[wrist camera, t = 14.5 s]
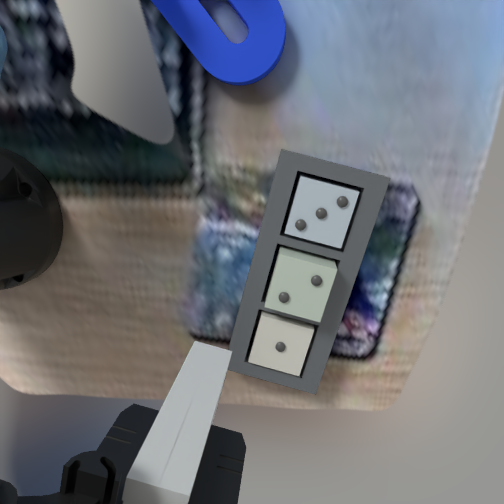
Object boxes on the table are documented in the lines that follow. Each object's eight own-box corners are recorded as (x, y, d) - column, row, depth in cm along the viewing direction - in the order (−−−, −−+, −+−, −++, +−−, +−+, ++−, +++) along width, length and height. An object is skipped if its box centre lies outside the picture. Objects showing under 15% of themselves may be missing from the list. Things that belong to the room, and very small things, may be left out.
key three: (285, 226, 40) (284, 233, 37) (300, 173, 39) (300, 176, 36) (337, 240, 40) (341, 249, 37) (353, 187, 39) (359, 192, 35)
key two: (266, 294, 41) (264, 308, 37) (280, 244, 39) (279, 254, 36) (317, 308, 41) (320, 323, 37) (333, 259, 39) (337, 270, 36)
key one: (251, 346, 44) (247, 363, 41) (263, 302, 43) (261, 316, 39) (298, 359, 44) (299, 377, 41) (312, 315, 43) (314, 330, 39)
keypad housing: (227, 354, 45) (223, 368, 42) (282, 149, 39) (281, 149, 36) (314, 378, 45) (315, 394, 42) (383, 175, 38) (390, 178, 35)
